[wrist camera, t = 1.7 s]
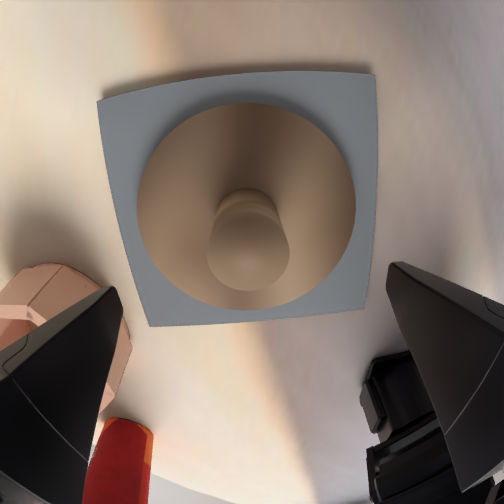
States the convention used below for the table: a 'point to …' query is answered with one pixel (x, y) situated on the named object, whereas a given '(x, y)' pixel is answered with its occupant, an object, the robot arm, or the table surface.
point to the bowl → (54, 311)
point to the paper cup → (120, 465)
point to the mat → (229, 92)
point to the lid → (246, 206)
